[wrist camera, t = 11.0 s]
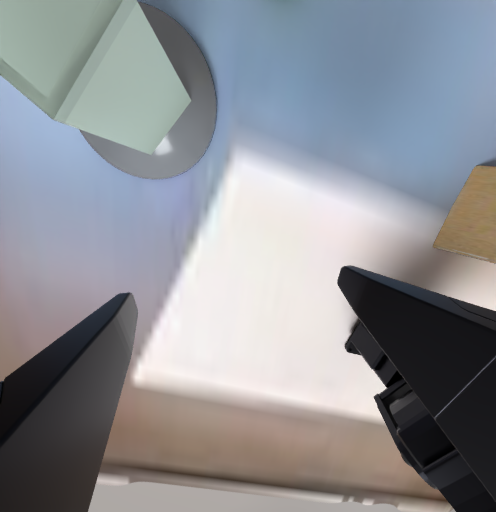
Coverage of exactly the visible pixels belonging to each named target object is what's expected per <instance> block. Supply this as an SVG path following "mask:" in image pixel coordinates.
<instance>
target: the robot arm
mask: <svg viewBox="0 0 496 512" xmlns="http://www.w3.org/2000/svg"><path fill="white" fill-rule="evenodd" d="M338 286H339V288H340V289H341V291H342V293H343V294H344V296H345V297H346V299H347V301H348V302H349V304H350V306H351V307H352V309H353V310H354V312H355V313H356V315H357V316H358V318H359V319H360V320H361V321H360V322H359V324H358V326H357V328H356V329H355V331H354V333H353V334H352V336H351V338H350V339H349V341H348V343H347V344H346V346H345V349H346V351H347V352H349V353H353V354H358V355H362V357H363V358H364V360H365V361H366V362H367V364H368V365H369V366H370V368H371V369H373V370H374V371H375V373H376V374H377V375H378V377H379V378H380V380H381V381H382V382H383V384H384V385H385V386H386V387H387V389H385V390H384V391H383V392H381V393H380V394H377V395H375V396H374V399H375V401H376V403H377V405H378V409H379V411H380V413H381V415H382V417H383V419H384V421H385V423H386V425H387V427H388V429H389V431H390V433H391V435H392V438H393V440H394V442H395V444H396V446H397V448H398V450H399V451H400V453H401V456H402V458H403V460H404V461H405V462H406V463H407V464H408V465H409V466H411V467H413V468H414V469H415V470H416V472H417V473H418V474H419V475H420V476H421V477H422V478H423V479H424V481H425V482H427V483H428V484H429V485H430V486H431V487H433V488H434V489H438V490H439V491H440V492H441V493H442V494H443V496H444V497H445V498H446V499H447V501H448V502H449V503H450V504H451V506H452V507H453V508H454V509H455V511H456V512H496V311H493V310H490V309H486V308H483V307H480V306H477V305H473V304H470V303H467V302H464V301H461V300H457V299H454V298H451V297H447V296H445V295H442V294H439V293H436V292H432V291H429V290H426V289H423V288H420V287H417V286H414V285H411V284H408V283H404V282H401V281H398V280H395V279H392V278H389V277H386V276H383V275H380V274H376V273H373V272H370V271H367V270H364V269H361V268H358V267H355V266H343V267H342V268H341V271H340V274H339V277H338ZM137 317H138V309H137V306H136V303H135V300H134V297H133V295H132V293H130V292H129V293H120V294H118V295H116V296H115V297H113V298H112V299H111V300H109V301H108V302H107V303H105V304H104V305H103V306H101V307H100V308H99V309H97V310H96V311H95V312H93V313H92V314H91V315H89V316H88V317H87V318H85V319H84V320H83V321H81V322H80V323H79V324H77V325H76V326H74V327H73V328H72V329H70V330H69V331H68V332H66V333H65V334H64V335H62V336H61V337H60V338H58V339H57V340H56V341H54V342H53V343H52V344H50V345H49V346H48V347H46V348H45V349H44V350H42V351H41V352H40V353H38V354H37V355H35V356H34V357H33V358H31V359H30V360H29V361H27V362H26V363H25V364H23V365H22V366H21V367H19V368H18V369H17V370H15V371H14V372H13V373H11V374H10V375H9V376H7V377H6V378H5V379H4V381H1V382H0V512H88V509H89V505H90V502H91V499H92V495H93V491H94V488H95V484H96V481H97V477H98V474H99V470H100V466H101V463H102V459H103V456H104V452H105V449H106V445H107V441H108V438H109V434H110V431H111V427H112V423H113V420H114V416H115V413H116V409H117V406H118V402H119V398H120V395H121V391H122V388H123V384H124V380H125V377H126V373H127V370H128V366H129V363H130V359H131V355H132V350H133V343H134V337H135V330H136V324H137Z"/></svg>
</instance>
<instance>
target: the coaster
mask: <svg viewBox="0 0 496 512" xmlns="http://www.w3.org/2000/svg"><path fill="white" fill-rule="evenodd" d="M138 4H139V5H140V7H141V9H142V11H143V13H144V15H145V16H146V18H147V20H148V22H149V24H150V26H151V27H152V29H153V31H154V33H155V35H156V37H157V38H158V40H159V42H160V44H161V46H162V48H163V49H164V51H165V53H166V55H167V57H168V59H169V60H170V62H171V64H172V66H173V68H174V70H175V71H176V73H177V75H178V77H179V79H180V81H181V82H182V84H183V86H184V88H185V90H186V92H187V93H188V95H189V97H190V99H191V102H190V103H189V105H188V106H187V107H186V109H185V110H184V111H183V113H182V114H181V116H180V117H179V118H178V120H177V121H176V122H175V124H174V125H173V126H172V128H171V129H170V130H169V132H168V133H167V134H166V136H165V137H164V138H163V140H162V141H161V142H160V144H159V145H158V146H157V148H156V149H155V150H154V152H153V153H152V154H151V155H150V154H147V153H144V152H141V151H139V150H136V149H133V148H130V147H128V146H125V145H122V144H119V143H116V142H114V141H111V140H108V139H105V138H102V137H100V136H97V135H94V134H91V133H88V132H86V131H83V130H80V129H79V130H80V132H81V133H82V135H83V136H84V138H85V139H86V141H87V142H88V143H89V144H90V146H91V147H92V148H93V149H94V150H95V151H96V152H97V153H98V154H99V155H100V156H101V157H102V158H103V159H105V160H106V161H107V162H108V163H110V164H111V165H113V166H114V167H116V168H117V169H119V170H121V171H123V172H125V173H127V174H130V175H133V176H136V177H140V178H146V179H167V178H172V177H175V176H178V175H180V174H182V173H184V172H186V171H188V170H189V169H190V168H192V167H193V166H194V165H195V164H196V163H197V162H198V161H199V160H200V159H201V158H202V156H203V155H204V154H205V152H206V150H207V149H208V147H209V144H210V142H211V140H212V137H213V133H214V130H215V124H216V114H217V105H216V95H215V89H214V84H213V81H212V77H211V74H210V71H209V68H208V66H207V63H206V61H205V58H204V57H203V55H202V53H201V51H200V49H199V47H198V46H197V45H196V43H195V42H194V40H193V39H192V37H191V36H190V35H189V34H188V33H187V31H186V30H185V29H184V28H183V27H182V26H181V25H180V24H179V23H178V22H176V21H175V20H174V19H173V18H172V17H170V16H169V15H167V14H166V13H165V12H163V11H161V10H159V9H157V8H155V7H153V6H150V5H148V4H145V3H141V2H138Z"/></svg>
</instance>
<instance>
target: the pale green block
mask: <svg viewBox="0 0 496 512" xmlns="http://www.w3.org/2000/svg"><path fill="white" fill-rule="evenodd" d="M0 75H1V76H2V77H3V78H4V79H5V80H7V81H8V82H9V83H10V84H11V85H13V86H14V87H15V88H16V89H17V90H18V91H20V92H21V93H22V94H23V95H24V96H26V97H27V98H28V99H29V100H30V101H31V102H33V103H34V104H35V105H36V106H37V107H39V108H40V109H41V110H42V111H43V112H44V113H46V114H47V115H48V116H49V117H50V118H52V119H53V120H55V121H58V122H61V123H63V124H66V125H69V126H72V127H75V128H77V129H80V130H83V131H86V132H88V133H91V134H94V135H97V136H100V137H102V138H105V139H108V140H111V141H114V142H116V143H119V144H122V145H125V146H128V147H130V148H133V149H136V150H139V151H141V152H144V153H147V154H150V155H151V154H152V153H153V152H154V150H155V149H156V148H157V146H158V145H159V144H160V142H161V141H162V140H163V138H164V137H165V136H166V134H167V133H168V132H169V130H170V129H171V128H172V126H173V125H174V124H175V122H176V121H177V120H178V118H179V117H180V116H181V114H182V113H183V111H184V110H185V109H186V107H187V106H188V105H189V103H190V102H191V99H190V97H189V95H188V93H187V92H186V90H185V88H184V86H183V84H182V82H181V81H180V79H179V77H178V75H177V73H176V71H175V70H174V68H173V66H172V64H171V62H170V60H169V59H168V57H167V55H166V53H165V51H164V49H163V48H162V46H161V44H160V42H159V40H158V38H157V37H156V35H155V33H154V31H153V29H152V27H151V26H150V24H149V22H148V20H147V18H146V16H145V15H144V13H143V11H142V9H141V7H140V5H139V4H138V2H137V0H0Z"/></svg>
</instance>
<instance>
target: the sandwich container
mask: <svg viewBox="0 0 496 512" xmlns="http://www.w3.org/2000/svg"><path fill="white" fill-rule="evenodd" d="M433 247H434V248H437V249H441V250H445V251H449V252H453V253H457V254H461V255H465V256H469V257H473V258H476V259H480V260H484V261H488V262H492V263H496V167H494V166H480V165H477V166H475V167H474V169H473V171H472V172H471V174H470V176H469V178H468V179H467V181H466V183H465V185H464V186H463V188H462V190H461V192H460V194H459V195H458V197H457V199H456V201H455V202H454V204H453V206H452V208H451V210H450V212H449V214H448V216H447V218H446V220H445V222H444V224H443V226H442V228H441V230H440V232H439V234H438V236H437V238H436V240H435V242H434V244H433Z"/></svg>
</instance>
